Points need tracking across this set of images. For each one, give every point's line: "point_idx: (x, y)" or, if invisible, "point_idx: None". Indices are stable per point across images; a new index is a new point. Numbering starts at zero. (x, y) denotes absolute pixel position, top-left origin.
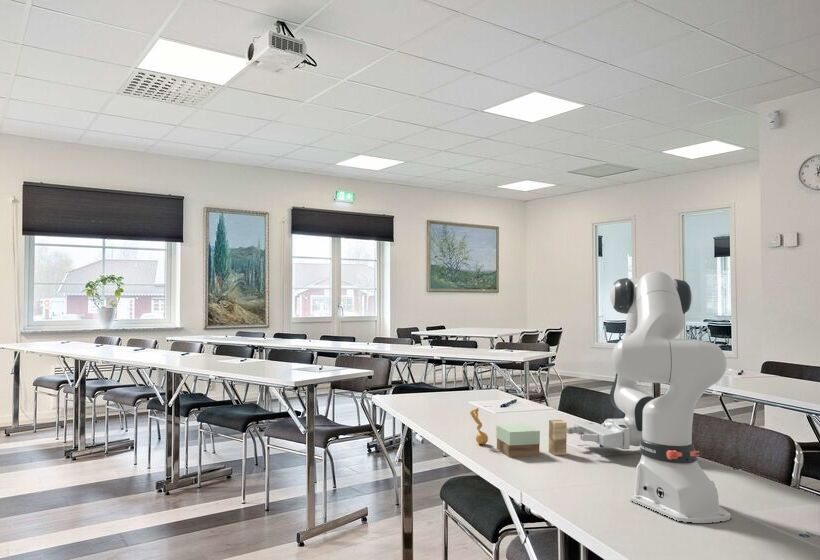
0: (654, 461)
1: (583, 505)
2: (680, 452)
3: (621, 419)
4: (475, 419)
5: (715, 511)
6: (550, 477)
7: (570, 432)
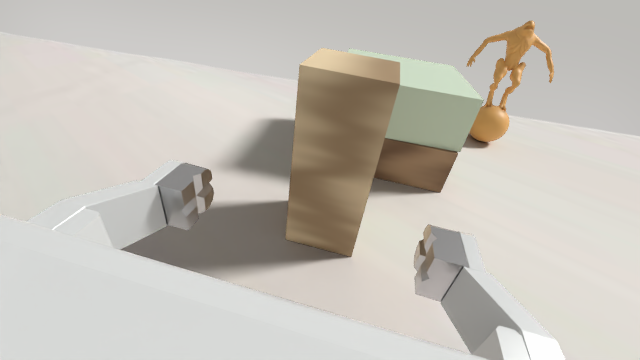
0: None
1: (4, 55)
2: None
3: None
4: (505, 59)
5: None
6: (148, 94)
7: (421, 264)
